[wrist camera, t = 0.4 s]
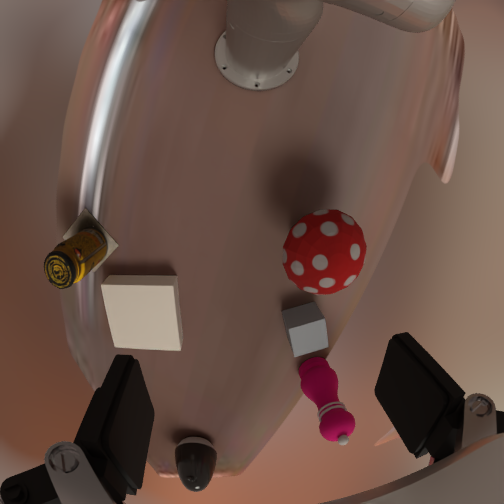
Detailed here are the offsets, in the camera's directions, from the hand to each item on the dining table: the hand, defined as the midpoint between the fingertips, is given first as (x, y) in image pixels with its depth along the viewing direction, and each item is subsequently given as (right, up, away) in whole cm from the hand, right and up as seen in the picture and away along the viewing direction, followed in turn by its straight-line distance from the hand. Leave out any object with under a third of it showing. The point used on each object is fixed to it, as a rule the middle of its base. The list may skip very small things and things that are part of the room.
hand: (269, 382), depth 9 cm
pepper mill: (+12, -19, +44) cm, 50 cm away
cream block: (-19, -5, +37) cm, 41 cm away
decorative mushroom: (+7, +8, +35) cm, 37 cm away
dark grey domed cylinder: (-15, -43, +49) cm, 67 cm away
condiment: (-27, +7, +32) cm, 43 cm away
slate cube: (+8, -7, +40) cm, 42 cm away
